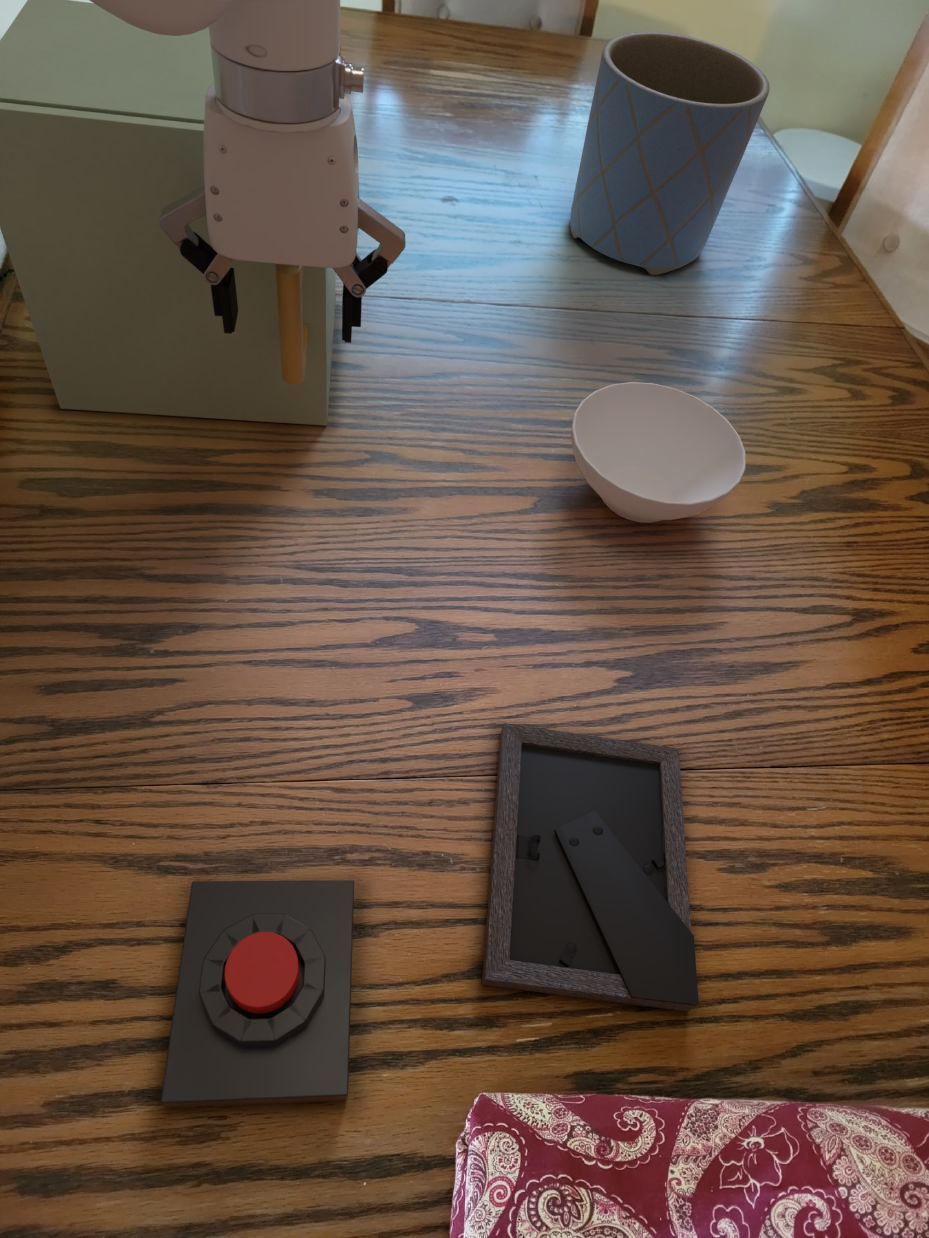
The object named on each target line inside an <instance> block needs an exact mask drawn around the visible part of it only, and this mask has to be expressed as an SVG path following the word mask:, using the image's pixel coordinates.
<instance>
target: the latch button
mask: <svg viewBox="0 0 929 1238" xmlns="http://www.w3.org/2000/svg"><path fill="white" fill-rule="evenodd" d="M298 981H299V964H298V958H297V954H296V952H295V949H294V948H293V946H292V945H291V943H290V942H289V941H288V940H287V939H285V938H284V937H283V936H281V935H279V934H276V933H272V932H259V933H255V934H252V935H250V936H248V937H246V938H244V939H243V940H241V941H240V942H239V943H238V944H237V945H236V946H235V947H234V948H233V950H232V951H231V953H230V955H229V957H228V959H227V962H226V966H225V982H226V986H227V988H228V991H229V993H230V995H231V997H232V999H233V1000H234V1002H235V1003H236V1004H237V1005H238V1006H239V1007H240V1008H242V1009H243V1010H245V1011H247V1012H250V1013H254V1014H265V1013H269V1012H272V1011H275V1010H277V1009H279V1008H280V1007H282V1006H283V1005H284V1004H285V1003H286V1002H287V1001H288V1000H289V999H290V998H291V997H292V995H293V994H294V992H295V990H296V987H297V985H298Z"/></svg>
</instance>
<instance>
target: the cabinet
mask: <svg viewBox="0 0 929 1238" xmlns="http://www.w3.org/2000/svg"><path fill="white" fill-rule="evenodd" d="M213 84H215V83H214V73H213V64H212V54H211V45H210V35H209V27H207V28H206V29H203V30H201V31H198V32H195V33H193V34H188V35H180V36H169V35H159V34H155V33H152V32H148V31H145V30H142V29H139V28H137V27H135V26H132V25H130V24H128V23H126V22H125V21H123V20H121V19H120V18H118V17H116V16H114V15H113V14H111V13H109V12H107V11H106V10H104V9H102V8H101V7H99V6H98V5H96V4H94V3H93V2H87V1H77V0H26V1H25V3H24V5H23V6H22V7H21V9H20V10H19V12H18V14H17V15H15V18H14V19H13V21H12V22H11V24H10V25H9V27H8V28H7V30H6V31H5V32H4V34H3V35H2V37H1V39H0V102H3V103H13V104H22V105H31V106H40V107H50V108H59V109H68V110H77V111H86V112H96V113H105V114H114V115H123V116H132V117H142V118H151V119H160V120H169V121H178V122H188V123H197V124H204V112H205V99H206V91H207V89H208V88H209V87H210V86H211V85H213ZM336 276H337V274H336V272H335V271H334V269H333V268H327V398H328V409H329V406H330V391H331V378H332V365H333V352H334V351H333V350H334V338H335V337H334V336H335V335H334V334H335V322H336V321H335V320H336V289H337V288H336V279H337V278H336Z"/></svg>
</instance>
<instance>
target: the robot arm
mask: <svg viewBox="0 0 929 1238" xmlns="http://www.w3.org/2000/svg"><path fill="white" fill-rule="evenodd" d="M88 1H89V2H90V3H94V4H96V5H98V6H99V7H101V8H102V9H104V10H106V11H107V12H109V13H111V14H113V15H114V16H116V17H118V18H120V19H121V20H123V21H125V22H126V23H128V24H130V25H132V26H135V27H137V28H139V29H142V30H145V31H148V32H152V33H155V34H159V35H169V36H180V35H188V34H193V33H195V32H198V31H201V30H203V29H206V28H207V27H209V35H210V45H211V54H212V64H213V73H214V83H215V84H213V85H211V86H210V87H209V88H208V89H207V91H206V99H205V112H204V134H203V155H204V182H205V185H204V186H202V187H200V188H198V189H196V190H195V191H193V192H191V193H189V194H188V195H186V196H184V197H182V198H181V199H179V200H177V201H175V202H174V203H172V204H170V205H168V206H167V207H165V208H163V209H162V212H161V215H160V218H159V225H160V227H161V228H162V229H163V230H164V232H165V233H166V234H167V235H168V237H169V238H170V239H171V240H172V242H173V243H174V244H176V245H177V246H178V247H179V249H180V253H181V255H182V256H183V257H184V258H185V259H186V260H188V261H189V262H190V263H191V264H192V265H193V266H195V267H196V268H197V269H198V270H199V271H200V272H201V273H203V274H204V279H205V281H206V282H207V283H208V284H210V285H211V292H212V299H213V307H214V314H215V316H222V319H223V327H224V333H227V334H232V332H234V331H235V326H236V320H237V315H238V303H237V293H236V284H235V274H234V268H231V266H232V265H233V264H234V262H235V261H236V260H242V261H252V262H262V263H273V264H284V265H296V266H308V267H321V268H333V269H334V271H335V272H336V276H337V277H338V278H339V279H340V281H341V282H342V284H343V285H342V296H341V297H342V298H341V300H342V303H341V341H344V343H347V344H352V335H353V334H352V333H353V328H361V327H362V305H363V302H362V301H363V297H364V296H365V295H366V292H367V289H369V287H371V286H372V285H373V284H375V283H376V282H378V281H379V280H380V279H381V278H382V277H384V276H385V275H386V274H387V272H388V269H389V267H391V265H393V264H394V263H395V262H396V260H397V259H398V258H399V257H400V255H401V254H402V253H403V251H404V250H405V248H406V244H407V243H406V232H405V231H404V230H403V229H401V228H400V227H399V226H398V225H396V224H395V223H393V222H392V221H391V220H389V219H388V218H387V217H385V216H384V215H382V214H381V213H380V212H378V211H377V210H376V209H375V208H373V207H372V206H370V205H369V204H367V203H366V201H364V200H362V199H361V198H360V171H359V149H358V139H357V131H356V130H357V129H356V123H355V122H356V121H355V116H354V112H353V106H352V103H351V101H350V100H349V99H348V98H347V97H346V96H345V95H352V93H360V94H364V82H365V81H364V79H365V77H364V76H365V75H364V74H365V67H363V66H355V65H354V66H353V64H352V63H350V62H346V56H342V54H341V52H342V51H341V49H342V47H341V46H342V45H341V0H88ZM205 214H206V216H207V226H208V234H209V239H210V243H211V246H212V247H211V246H210V245H209V244H208V243H207V242H206V241H204V240H203V239H202V238H201V237H200V236H199V235H198V234H197V233H195V232H193V231H192V230H191V227H190V226H189V223H191V222H193V221H195V220H196V219H198V218H200V217H202V216H204V215H205ZM359 230H361V231H362V232H364V233H365V234H366V235H368V236H369V237H371V238H372V239H373V240H375V241H376V242H378V243H379V244H378V246H377V247H376V248H375V249H373V250H372V251H371V252H370V253H369V254H367V255H366V256H365V257H363V258H361V256H360V255H359V254H358V252H357V248H358V241H359V240H358V239H359Z"/></svg>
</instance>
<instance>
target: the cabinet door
mask: <svg viewBox="0 0 929 1238" xmlns="http://www.w3.org/2000/svg"><path fill="white" fill-rule="evenodd" d="M203 134H204V124H197V123H188V122H178V121H169V120H160V119H151V118H142V117H132V116H123V115H114V114H105V113H96V112H86V111H77V110H68V109H59V108H50V107H40V106H31V105H22V104H13V103H3V102H0V231H1V232H0V233H1V234H2V238H3V241H4V244H5V247H6V250H7V253H8V256H9V259H10V261H11V264H12V268H13V270H14V274H15V276H16V279H17V282H18V285H19V288H20V291H21V295H22V297H23V301H24V304H25V307H26V309H27V312H28V316H29V319H30V321H31V323H32V324H31V325H32V328H33V330H34V333H35V337H36V340H37V342H38V345H39V348H40V352H41V354H42V358H43V360H44V364H45V366H46V369H47V373H48V375H49V378H50V382H51V385H52V388H53V391H54V394H55V397H56V399H57V403H58V405H59V409H62V410H75V411H77V410H79V411H94V412H107V413H125V414H140V415H155V416H156V415H157V416H171V417H184V418H185V417H187V418H200V419H201V418H203V419H217V420H231V421H232V420H234V421H248V422H249V421H250V422H262V423H264V422H266V423H279V424H296V425H310V426H328V418H329V408H328V398H327V268H321V267H308V266H296V265H284V264H273V263H262V262H252V261H242V260H236V261H235V262H234V264H233V265H232V266H231V268H234V274H235V284H236V293H237V303H238V315H237V320H236V326H235V331H234V332H232V334H227V333H224V327H223V319H222V316H215V314H214V307H213V299H212V292H211V285H210V284H208V283H207V282H206V281H205V279H204V274H203V273H201V272H200V271H199V270H198V269H197V268H196V267H195V266H193V265H192V264H191V263H190V262H189V261H188V260H186V259H185V258H184V257H183V256H182V255H181V253H180V249H179V247H178V246H177V245H176V244H174V243H173V242H172V240H171V239H170V238H169V237H168V235H167V234H166V233H165V232H164V230H163V229H162V228H161V227H160V225H159V218H160V215H161V212H162V209H163V208H165V207H167V206H168V205H170V204H172V203H174V202H175V201H177V200H179V199H181V198H182V197H184V196H186V195H188V194H189V193H191V192H193V191H195V190H196V189H198V188H200V187H202V186H204V185H205V182H204V155H203ZM189 226H190V227H191V230H192V231H193V232H195V233H197V234H198V235H199V236H200V237H201V238H202V239H203V240H204V241H206V242H207V243H208V244H209V245H210V246H211V243H210V239H209V234H208V226H207V216H206V214H205V215H204V216H202V217H200V218H198V219H196V220H195V221H193V222H191V223H189ZM211 247H212V246H211Z"/></svg>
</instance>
